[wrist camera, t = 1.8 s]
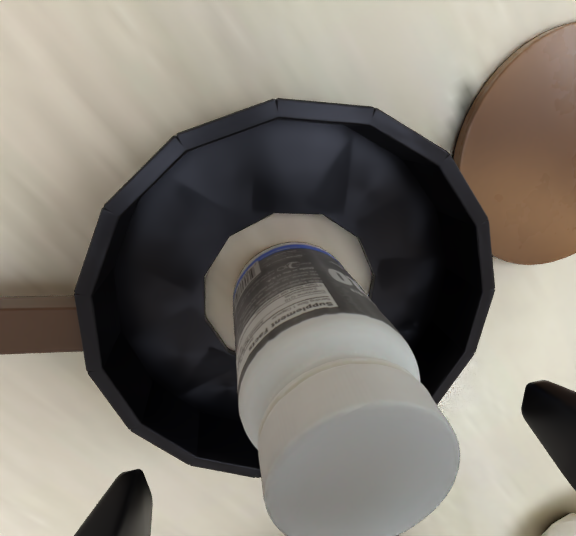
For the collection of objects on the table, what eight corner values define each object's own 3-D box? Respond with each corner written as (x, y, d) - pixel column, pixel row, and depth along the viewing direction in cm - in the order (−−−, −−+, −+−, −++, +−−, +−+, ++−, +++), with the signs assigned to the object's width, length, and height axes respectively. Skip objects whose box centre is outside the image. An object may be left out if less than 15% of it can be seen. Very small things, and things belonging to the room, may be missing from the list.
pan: (414, 415, 18) (442, 458, 16) (-90, 456, 14) (-151, 522, 12) (489, 122, 13) (548, 122, 11) (-264, 55, 9) (-433, 33, 7)
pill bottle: (363, 309, 15) (503, 496, 8) (267, 362, 16) (313, 594, 8) (316, 216, 13) (444, 342, 6) (208, 276, 14) (192, 476, 6)
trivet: (603, 261, 17) (614, 265, 16) (428, 260, 15) (434, 265, 15) (698, 37, 13) (715, 35, 13) (487, 4, 12) (498, -1, 11)
